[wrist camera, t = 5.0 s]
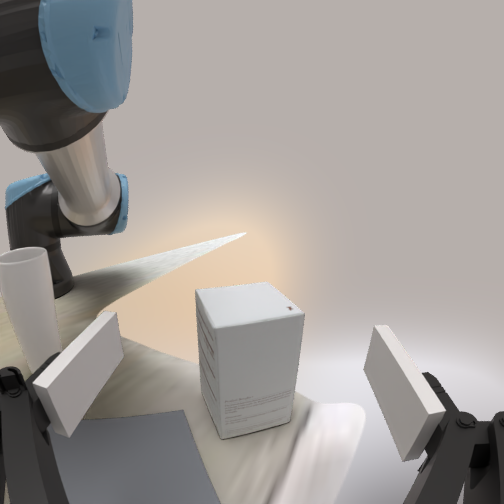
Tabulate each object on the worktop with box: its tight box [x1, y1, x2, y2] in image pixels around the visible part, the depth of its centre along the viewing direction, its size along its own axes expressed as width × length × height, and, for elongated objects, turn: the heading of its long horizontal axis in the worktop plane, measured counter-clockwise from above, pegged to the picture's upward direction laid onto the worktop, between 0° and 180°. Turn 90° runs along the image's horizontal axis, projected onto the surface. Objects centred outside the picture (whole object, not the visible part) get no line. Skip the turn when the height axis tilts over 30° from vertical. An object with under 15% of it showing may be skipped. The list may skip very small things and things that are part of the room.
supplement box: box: [195, 282, 305, 439], centre depth 27 cm, size 7×7×13 cm
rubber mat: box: [47, 410, 220, 504], centre depth 17 cm, size 16×14×1 cm
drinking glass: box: [0, 247, 63, 374], centre depth 28 cm, size 7×7×15 cm
